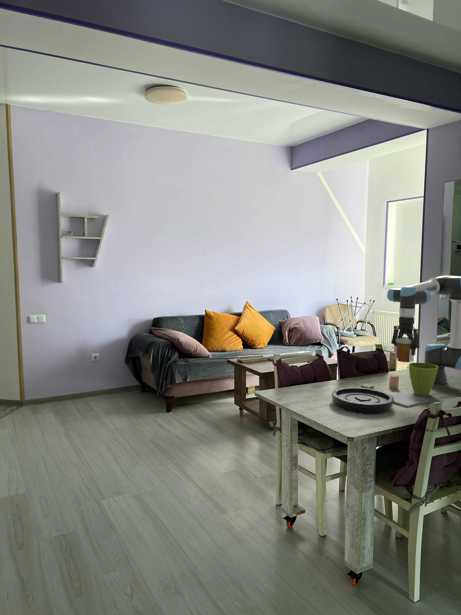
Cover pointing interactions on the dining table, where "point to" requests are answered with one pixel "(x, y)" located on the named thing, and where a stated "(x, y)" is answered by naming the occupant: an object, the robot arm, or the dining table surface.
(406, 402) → the slate board
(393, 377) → the light brown egg
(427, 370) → the flower pot
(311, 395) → the dining table surface
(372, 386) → the walnut block
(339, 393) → the round tray
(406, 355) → the disposable coffee cup
